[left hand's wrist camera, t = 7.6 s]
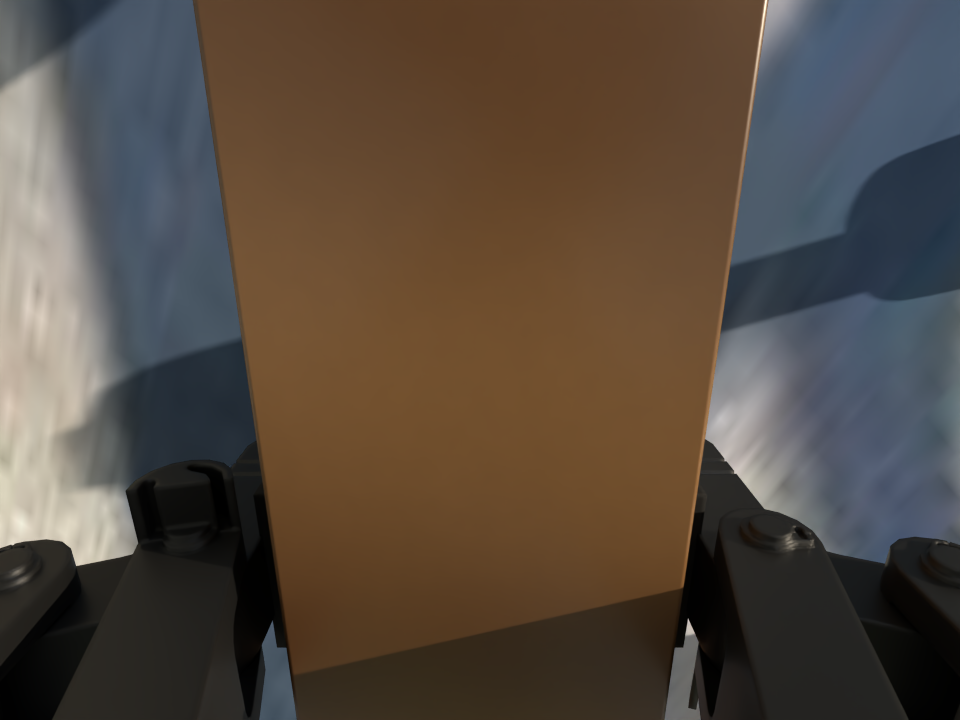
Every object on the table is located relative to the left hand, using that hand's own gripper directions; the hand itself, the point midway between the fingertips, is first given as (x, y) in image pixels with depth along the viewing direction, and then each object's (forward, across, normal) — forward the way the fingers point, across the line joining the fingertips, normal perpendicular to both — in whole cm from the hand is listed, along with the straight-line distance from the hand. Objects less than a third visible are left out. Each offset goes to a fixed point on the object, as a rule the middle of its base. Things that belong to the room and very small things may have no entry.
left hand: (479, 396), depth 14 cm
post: (0, 0, -28) cm, 29 cm away
